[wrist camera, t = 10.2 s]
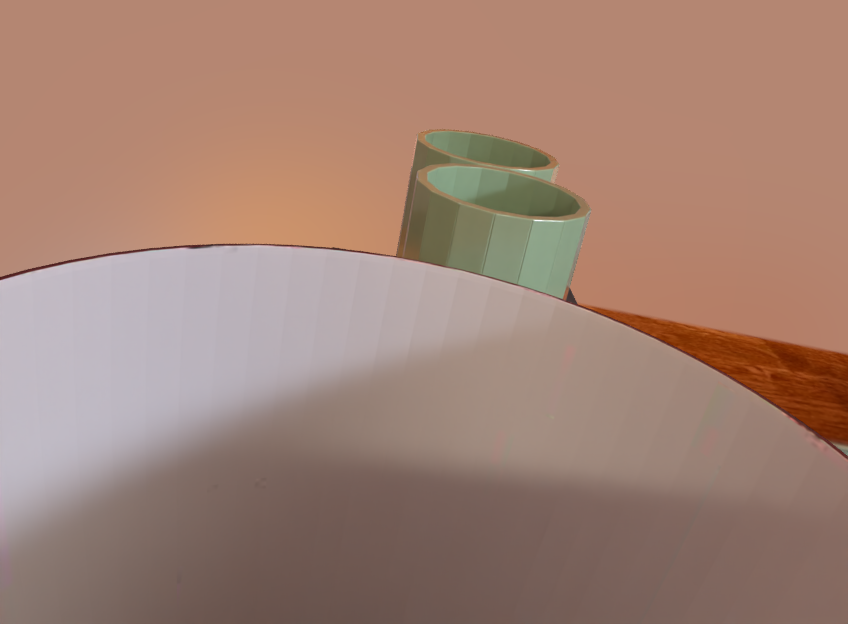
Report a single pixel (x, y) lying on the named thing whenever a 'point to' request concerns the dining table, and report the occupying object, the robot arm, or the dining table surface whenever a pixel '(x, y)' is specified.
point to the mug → (386, 454)
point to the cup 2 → (497, 225)
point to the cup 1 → (473, 159)
